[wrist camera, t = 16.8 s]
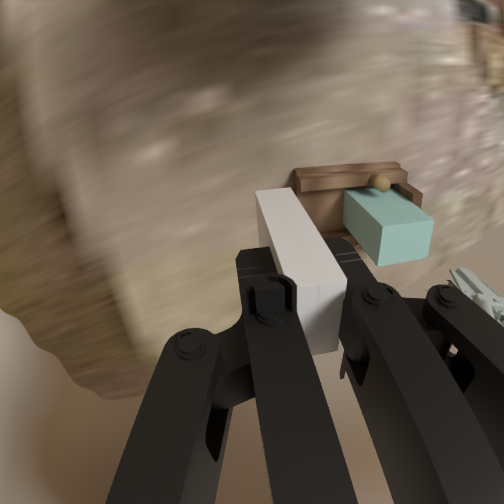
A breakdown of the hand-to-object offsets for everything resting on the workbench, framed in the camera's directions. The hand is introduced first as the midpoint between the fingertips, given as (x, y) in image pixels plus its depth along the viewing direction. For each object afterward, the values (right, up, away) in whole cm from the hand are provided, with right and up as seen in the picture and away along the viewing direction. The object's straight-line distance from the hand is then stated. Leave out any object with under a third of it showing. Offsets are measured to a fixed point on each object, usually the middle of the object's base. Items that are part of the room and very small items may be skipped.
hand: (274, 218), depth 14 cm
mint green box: (+15, +5, +28) cm, 32 cm away
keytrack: (+12, +5, +29) cm, 32 cm away
